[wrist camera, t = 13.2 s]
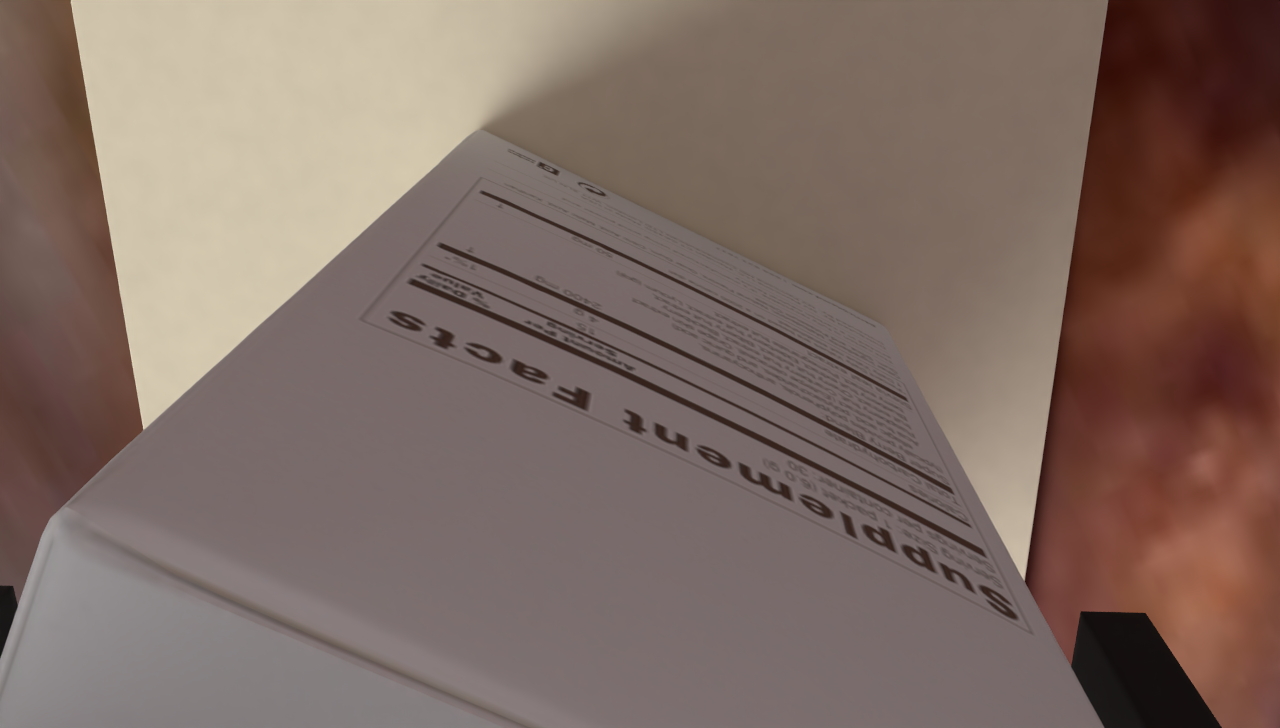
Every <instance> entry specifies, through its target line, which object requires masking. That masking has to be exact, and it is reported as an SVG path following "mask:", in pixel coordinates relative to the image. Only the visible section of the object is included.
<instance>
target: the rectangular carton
mask: <svg viewBox="0 0 1280 728" xmlns="http://www.w3.org/2000/svg"><path fill="white" fill-rule="evenodd" d="M0 728H1104V726H1103V724H1102V722H1101V721H1100V719H1099V717H1098V715H1097V713H1096V712H1095V710H1094V708H1093V706H1092V704H1091V703H1090V701H1089V699H1088V697H1087V696H1086V694H1085V692H1084V690H1083V688H1082V686H1081V684H1080V683H1079V681H1078V679H1077V677H1076V675H1075V673H1074V671H1073V669H1072V668H1071V666H1070V664H1069V662H1068V660H1067V658H1066V657H1065V655H1064V653H1063V651H1062V650H1061V648H1060V646H1059V644H1058V642H1057V641H1056V639H1055V637H1054V635H1053V633H1052V631H1051V629H1050V627H1049V626H1048V624H1047V622H1046V620H1045V618H1044V617H1043V615H1042V613H1041V611H1040V609H1039V608H1038V606H1037V604H1036V602H1035V600H1034V598H1033V596H1032V594H1031V593H1030V591H1029V589H1028V587H1027V585H1026V583H1025V582H1024V580H1023V578H1022V576H1021V574H1020V573H1019V571H1018V569H1017V567H1016V565H1015V563H1014V561H1013V559H1012V558H1011V556H1010V554H1009V552H1008V550H1007V548H1006V546H1005V545H1004V543H1003V541H1002V539H1001V537H1000V536H999V534H998V532H997V530H996V528H995V526H994V525H993V523H992V521H991V519H990V517H989V515H988V513H987V512H986V510H985V508H984V506H983V504H982V502H981V501H980V499H979V497H978V495H977V493H976V491H975V490H974V488H973V486H972V484H971V482H970V480H969V479H968V477H967V475H966V473H965V471H964V469H963V467H962V466H961V464H960V462H959V460H958V458H957V456H956V455H955V453H954V451H953V449H952V447H951V445H950V443H949V442H948V440H947V438H946V436H945V434H944V432H943V431H942V429H941V427H940V425H939V424H938V422H937V420H936V418H935V416H934V415H933V413H932V411H931V409H930V407H929V405H928V403H927V402H926V400H925V398H924V396H923V394H922V392H921V390H920V388H919V387H918V385H917V383H916V381H915V379H914V377H913V376H912V374H911V372H910V370H909V369H908V367H907V365H906V363H905V362H904V360H903V358H902V356H901V354H900V352H899V350H898V348H897V346H896V345H895V343H894V341H893V339H892V337H891V335H890V333H889V331H888V330H887V329H886V328H885V327H884V326H883V325H882V324H880V323H878V322H876V321H874V320H872V319H870V318H868V317H866V316H864V315H862V314H860V313H858V312H856V311H854V310H853V309H851V308H849V307H847V306H844V305H842V304H840V303H838V302H836V301H834V300H832V299H830V298H828V297H825V296H823V295H821V294H819V293H817V292H815V291H813V290H811V289H809V288H807V287H805V286H803V285H801V284H799V283H797V282H795V281H793V280H791V279H789V278H787V277H785V276H783V275H780V274H778V273H776V272H774V271H772V270H770V269H768V268H766V267H764V266H762V265H760V264H758V263H756V262H754V261H752V260H750V259H748V258H746V257H744V256H742V255H740V254H738V253H736V252H734V251H731V250H729V249H727V248H725V247H723V246H721V245H719V244H717V243H715V242H713V241H711V240H709V239H707V238H705V237H703V236H701V235H699V234H697V233H695V232H693V231H690V230H688V229H686V228H684V227H682V226H680V225H678V224H676V223H674V222H672V221H670V220H668V219H666V218H664V217H662V216H660V215H658V214H656V213H654V212H652V211H650V210H647V209H645V208H643V207H641V206H639V205H637V204H635V203H633V202H631V201H629V200H627V199H625V198H623V197H621V196H619V195H617V194H615V193H613V192H611V191H609V190H606V189H604V188H602V187H600V186H598V185H596V184H594V183H592V182H590V181H588V180H586V179H584V178H582V177H580V176H578V175H576V174H574V173H572V172H570V171H568V170H565V169H563V168H561V167H559V166H557V165H555V164H553V163H551V162H549V161H547V160H545V159H543V158H541V157H539V156H537V155H535V154H533V153H531V152H529V151H527V150H525V149H522V148H520V147H518V146H516V145H514V144H512V143H510V142H508V141H506V140H503V139H501V138H499V137H497V136H495V135H493V134H491V133H488V132H486V131H484V130H477V131H474V132H473V133H472V134H470V135H469V136H467V137H466V138H465V139H464V140H463V141H462V142H461V143H460V144H458V145H457V146H456V147H455V148H454V149H453V150H452V151H451V152H450V153H449V154H448V155H447V156H446V157H444V158H443V159H442V160H441V161H440V162H439V164H437V165H436V166H435V167H434V168H433V169H432V170H431V171H430V172H429V173H427V174H426V175H425V176H424V177H423V178H422V179H421V180H420V181H419V182H417V183H416V184H415V185H414V186H413V187H412V188H411V189H410V190H408V191H407V192H406V193H405V194H404V195H403V196H402V197H401V198H400V199H398V200H397V201H396V202H395V203H394V204H393V205H392V206H391V207H390V208H388V209H387V210H386V211H385V212H384V213H383V214H382V215H381V216H380V217H379V218H378V219H376V220H375V221H374V222H373V223H372V224H371V225H370V226H369V227H368V228H367V229H365V230H364V231H363V232H362V233H361V234H360V235H359V236H358V237H357V238H356V239H354V240H353V241H352V242H351V243H350V244H349V245H348V246H347V247H346V248H345V249H343V250H342V251H341V252H340V253H339V254H338V255H337V256H336V257H335V258H334V259H332V260H331V261H330V262H329V263H328V264H327V265H326V266H325V267H324V268H323V269H321V270H320V271H319V272H318V273H317V274H316V275H315V276H314V277H313V278H312V279H311V280H309V281H308V282H307V283H306V284H305V285H304V286H303V287H302V288H301V289H300V290H298V291H297V292H296V293H295V294H294V295H293V296H292V297H291V298H290V299H288V300H287V301H286V302H285V303H284V304H283V305H282V306H280V307H279V308H278V309H277V310H276V311H275V312H274V313H273V314H271V315H270V316H269V317H268V318H267V319H266V320H265V321H263V322H262V323H261V324H260V325H259V326H258V327H257V328H256V329H254V330H253V331H252V332H251V333H250V334H249V335H248V336H247V337H246V338H245V339H244V340H243V341H242V342H240V343H239V344H238V345H237V346H236V347H235V348H234V349H233V350H232V351H231V352H230V353H229V354H227V355H226V356H225V357H224V358H223V359H222V360H221V361H220V362H219V363H217V364H216V365H215V366H214V367H213V368H212V369H211V370H210V371H209V372H207V373H206V374H205V375H204V376H203V377H202V378H201V379H200V380H199V381H197V382H196V383H195V384H194V385H193V386H192V387H191V388H190V389H189V390H187V391H186V392H185V393H184V394H183V395H182V396H181V397H180V398H178V399H177V400H176V401H175V402H174V403H173V404H172V405H171V406H170V407H169V408H168V409H166V410H165V411H164V412H163V413H162V414H161V415H160V416H159V417H158V418H157V419H155V420H154V421H153V422H152V423H151V424H150V425H149V426H148V427H147V428H146V429H144V430H143V431H142V432H141V433H140V434H139V435H138V436H137V437H136V438H135V439H134V440H132V441H131V442H130V443H129V444H128V445H127V446H126V447H125V448H124V449H123V450H121V451H120V452H119V453H118V454H117V455H116V456H115V457H114V458H113V459H112V460H111V461H109V462H108V463H107V464H106V465H105V466H104V467H103V468H102V469H101V470H100V471H99V472H98V473H97V474H96V475H95V476H94V477H93V478H92V479H91V480H90V481H89V482H88V483H87V484H86V485H85V486H83V487H82V488H81V489H80V490H79V491H78V492H77V493H76V494H75V495H74V496H73V497H72V498H71V499H70V500H69V501H68V502H67V503H66V504H65V505H64V506H63V507H62V508H61V509H60V510H59V511H58V512H56V513H55V514H54V515H53V516H52V517H51V518H50V520H49V522H48V524H47V526H46V528H45V530H44V532H43V534H42V537H41V540H40V543H39V546H38V549H37V552H36V555H35V557H34V560H33V563H32V566H31V569H30V572H29V575H28V578H27V581H26V584H25V587H24V590H23V593H22V596H21V599H20V602H19V605H18V608H17V611H16V614H15V617H14V620H13V623H12V625H11V628H10V631H9V634H8V637H7V640H6V643H5V646H4V649H3V652H2V655H1V658H0Z"/></svg>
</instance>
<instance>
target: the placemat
mask: <svg viewBox="0 0 1280 728" xmlns="http://www.w3.org/2000/svg"><path fill="white" fill-rule="evenodd" d="M71 5H72V11H73V17H74V23H75V29H76V35H77V40H78V46H79V52H80V58H81V64H82V70H83V76H84V82H85V88H86V93H87V99H88V105H89V111H90V117H91V123H92V129H93V135H94V141H95V147H96V152H97V158H98V164H99V170H100V176H101V182H102V188H103V194H104V200H105V205H106V211H107V217H108V223H109V229H110V235H111V241H112V247H113V253H114V258H115V264H116V270H117V276H118V282H119V288H120V294H121V300H122V306H123V311H124V317H125V323H126V329H127V335H128V341H129V347H130V353H131V359H132V364H133V370H134V376H135V382H136V388H137V394H138V400H139V406H140V412H141V417H142V423H143V429H146V428H147V427H148V426H149V425H150V424H151V423H152V422H153V421H154V420H155V419H157V418H158V417H159V416H160V415H161V414H162V413H163V412H164V411H165V410H166V409H168V408H169V407H170V406H171V405H172V404H173V403H174V402H175V401H176V400H177V399H178V398H180V397H181V396H182V395H183V394H184V393H185V392H186V391H187V390H189V389H190V388H191V387H192V386H193V385H194V384H195V383H196V382H197V381H199V380H200V379H201V378H202V377H203V376H204V375H205V374H206V373H207V372H209V371H210V370H211V369H212V368H213V367H214V366H215V365H216V364H217V363H219V362H220V361H221V360H222V359H223V358H224V357H225V356H226V355H227V354H229V353H230V352H231V351H232V350H233V349H234V348H235V347H236V346H237V345H238V344H239V343H240V342H242V341H243V340H244V339H245V338H246V337H247V336H248V335H249V334H250V333H251V332H252V331H253V330H254V329H256V328H257V327H258V326H259V325H260V324H261V323H262V322H263V321H265V320H266V319H267V318H268V317H269V316H270V315H271V314H273V313H274V312H275V311H276V310H277V309H278V308H279V307H280V306H282V305H283V304H284V303H285V302H286V301H287V300H288V299H290V298H291V297H292V296H293V295H294V294H295V293H296V292H297V291H298V290H300V289H301V288H302V287H303V286H304V285H305V284H306V283H307V282H308V281H309V280H311V279H312V278H313V277H314V276H315V275H316V274H317V273H318V272H319V271H320V270H321V269H323V268H324V267H325V266H326V265H327V264H328V263H329V262H330V261H331V260H332V259H334V258H335V257H336V256H337V255H338V254H339V253H340V252H341V251H342V250H343V249H345V248H346V247H347V246H348V245H349V244H350V243H351V242H352V241H353V240H354V239H356V238H357V237H358V236H359V235H360V234H361V233H362V232H363V231H364V230H365V229H367V228H368V227H369V226H370V225H371V224H372V223H373V222H374V221H375V220H376V219H378V218H379V217H380V216H381V215H382V214H383V213H384V212H385V211H386V210H387V209H388V208H390V207H391V206H392V205H393V204H394V203H395V202H396V201H397V200H398V199H400V198H401V197H402V196H403V195H404V194H405V193H406V192H407V191H408V190H410V189H411V188H412V187H413V186H414V185H415V184H416V183H417V182H419V181H420V180H421V179H422V178H423V177H424V176H425V175H426V174H427V173H429V172H430V171H431V170H432V169H433V168H434V167H435V166H436V165H437V164H439V162H440V161H441V160H442V159H443V158H444V157H446V156H447V155H448V154H449V153H450V152H451V151H452V150H453V149H454V148H455V147H456V146H457V145H458V144H460V143H461V142H462V141H463V140H464V139H465V138H466V137H467V136H469V135H470V134H472V133H473V132H474V131H477V130H484V131H486V132H488V133H491V134H493V135H495V136H497V137H499V138H501V139H503V140H506V141H508V142H510V143H512V144H514V145H516V146H518V147H520V148H522V149H525V150H527V151H529V152H531V153H533V154H535V155H537V156H539V157H541V158H543V159H545V160H547V161H549V162H551V163H553V164H555V165H557V166H559V167H561V168H563V169H565V170H568V171H570V172H572V173H574V174H576V175H578V176H580V177H582V178H584V179H586V180H588V181H590V182H592V183H594V184H596V185H598V186H600V187H602V188H604V189H606V190H609V191H611V192H613V193H615V194H617V195H619V196H621V197H623V198H625V199H627V200H629V201H631V202H633V203H635V204H637V205H639V206H641V207H643V208H645V209H647V210H650V211H652V212H654V213H656V214H658V215H660V216H662V217H664V218H666V219H668V220H670V221H672V222H674V223H676V224H678V225H680V226H682V227H684V228H686V229H688V230H690V231H693V232H695V233H697V234H699V235H701V236H703V237H705V238H707V239H709V240H711V241H713V242H715V243H717V244H719V245H721V246H723V247H725V248H727V249H729V250H731V251H734V252H736V253H738V254H740V255H742V256H744V257H746V258H748V259H750V260H752V261H754V262H756V263H758V264H760V265H762V266H764V267H766V268H768V269H770V270H772V271H774V272H776V273H778V274H780V275H783V276H785V277H787V278H789V279H791V280H793V281H795V282H797V283H799V284H801V285H803V286H805V287H807V288H809V289H811V290H813V291H815V292H817V293H819V294H821V295H823V296H825V297H828V298H830V299H832V300H834V301H836V302H838V303H840V304H842V305H844V306H847V307H849V308H851V309H853V310H854V311H856V312H858V313H860V314H862V315H864V316H866V317H868V318H870V319H872V320H874V321H876V322H878V323H880V324H882V325H883V326H884V327H885V328H886V329H887V330H888V331H889V333H890V335H891V337H892V339H893V341H894V343H895V345H896V346H897V348H898V350H899V352H900V354H901V356H902V358H903V360H904V362H905V363H906V365H907V367H908V369H909V370H910V372H911V374H912V376H913V377H914V379H915V381H916V383H917V385H918V387H919V388H920V390H921V392H922V394H923V396H924V398H925V400H926V402H927V403H928V405H929V407H930V409H931V411H932V413H933V415H934V416H935V418H936V420H937V422H938V424H939V425H940V427H941V429H942V431H943V432H944V434H945V436H946V438H947V440H948V442H949V443H950V445H951V447H952V449H953V451H954V453H955V455H956V456H957V458H958V460H959V462H960V464H961V466H962V467H963V469H964V471H965V473H966V475H967V477H968V479H969V480H970V482H971V484H972V486H973V488H974V490H975V491H976V493H977V495H978V497H979V499H980V501H981V502H982V504H983V506H984V508H985V510H986V512H987V513H988V515H989V517H990V519H991V521H992V523H993V525H994V526H995V528H996V530H997V532H998V534H999V536H1000V537H1001V539H1002V541H1003V543H1004V545H1005V546H1006V548H1007V550H1008V552H1009V554H1010V556H1011V558H1012V559H1013V561H1014V563H1015V565H1016V567H1017V569H1018V571H1019V573H1020V574H1021V576H1022V578H1023V580H1024V582H1025V576H1026V569H1027V562H1028V555H1029V548H1030V541H1031V534H1032V527H1033V520H1034V513H1035V506H1036V499H1037V492H1038V485H1039V478H1040V471H1041V464H1042V458H1043V451H1044V444H1045V437H1046V430H1047V423H1048V416H1049V409H1050V402H1051V395H1052V388H1053V381H1054V374H1055V367H1056V360H1057V353H1058V346H1059V339H1060V332H1061V326H1062V319H1063V312H1064V305H1065V298H1066V291H1067V284H1068V277H1069V270H1070V263H1071V256H1072V249H1073V242H1074V235H1075V228H1076V221H1077V214H1078V207H1079V200H1080V194H1081V187H1082V180H1083V173H1084V166H1085V159H1086V152H1087V145H1088V138H1089V131H1090V124H1091V117H1092V110H1093V103H1094V96H1095V89H1096V82H1097V75H1098V68H1099V62H1100V55H1101V48H1102V41H1103V34H1104V27H1105V20H1106V13H1107V6H1108V0H71Z"/></svg>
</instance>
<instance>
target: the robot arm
mask: <svg viewBox="0 0 1280 728" xmlns="http://www.w3.org/2000/svg"><path fill="white" fill-rule="evenodd" d="M17 608H18V605H17V601H16V597H15V592H14V588H13V586H0V658H1V655H2V652H3V649H4V646H5V643H6V640H7V637H8V634H9V631H10V628H11V625H12V623H13V620H14V617H15V614H16V611H17ZM1071 668H1072V669H1073V671H1074V673H1075V675H1076V677H1077V679H1078V681H1079V683H1080V684H1081V686H1082V688H1083V690H1084V692H1085V694H1086V696H1087V697H1088V699H1089V701H1090V703H1091V704H1092V706H1093V708H1094V710H1095V712H1096V713H1097V715H1098V717H1099V719H1100V721H1101V722H1102V724H1103V726H1104V728H1222V727H1221V726H1220V724H1219V723H1218V721H1217V720H1216V718H1215V717H1214V715H1213V714H1212V712H1211V711H1210V709H1209V708H1208V706H1207V705H1206V703H1205V702H1204V700H1203V699H1202V697H1201V696H1200V694H1199V693H1198V691H1197V690H1196V688H1195V687H1194V685H1193V684H1192V682H1191V681H1190V679H1189V678H1188V676H1187V675H1186V673H1185V672H1184V670H1183V669H1182V667H1181V666H1180V664H1179V663H1178V661H1177V660H1176V658H1175V657H1174V655H1173V654H1172V652H1171V651H1170V649H1169V648H1168V646H1167V645H1166V643H1165V642H1164V640H1163V639H1162V637H1161V636H1160V634H1159V633H1158V631H1157V630H1156V628H1155V627H1154V625H1153V624H1152V622H1151V621H1150V619H1149V618H1148V616H1147V615H1146V613H1123V612H1082V611H1081V613H1080V619H1079V625H1078V631H1077V637H1076V643H1075V648H1074V654H1073V660H1072V666H1071Z"/></svg>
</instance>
